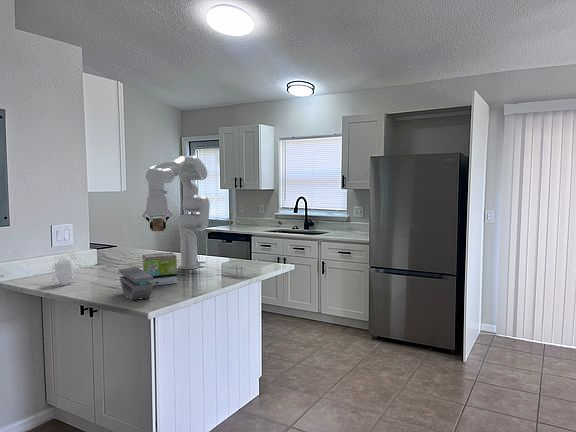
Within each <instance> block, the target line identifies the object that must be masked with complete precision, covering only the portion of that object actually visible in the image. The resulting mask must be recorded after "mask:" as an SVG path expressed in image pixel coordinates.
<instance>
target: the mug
mask: <svg viewBox="0 0 576 432" xmlns="http://www.w3.org/2000/svg"><path fill="white" fill-rule="evenodd" d="M76 265H78V266H79V269H78V271H77V272H76V273H75V275H74V270H75V266H76ZM81 269H82V266H81V264H80V263H79V262H76V263H74V260H59V261H56V262H54V273H55V276H56V279H57V280H58V282H59V285H60V286H67V285H70V284H71V281H72V280H73V279H74V278H76V277H77V276H78V274H80V272H81V271H82V270H81Z"/></svg>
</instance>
